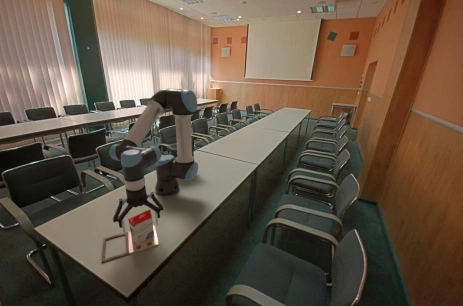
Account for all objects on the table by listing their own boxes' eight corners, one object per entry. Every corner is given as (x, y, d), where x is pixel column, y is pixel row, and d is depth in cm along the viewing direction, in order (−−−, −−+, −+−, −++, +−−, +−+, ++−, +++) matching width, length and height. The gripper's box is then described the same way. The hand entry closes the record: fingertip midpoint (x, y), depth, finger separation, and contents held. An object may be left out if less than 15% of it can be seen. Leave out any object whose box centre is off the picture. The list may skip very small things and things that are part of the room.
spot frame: (128, 232, 98) (127, 231, 98) (129, 254, 86) (129, 253, 86) (103, 239, 93) (103, 238, 93) (101, 262, 82) (101, 261, 82)
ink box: (148, 230, 99) (145, 204, 94) (154, 235, 96) (151, 209, 91) (131, 240, 93) (126, 213, 88) (136, 245, 90) (132, 218, 85)
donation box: (194, 171, 164) (193, 137, 155) (177, 177, 153) (175, 141, 143) (182, 165, 174) (181, 133, 165) (165, 170, 163) (163, 136, 153)
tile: (154, 225, 103) (154, 224, 103) (159, 244, 92) (158, 243, 91) (128, 232, 98) (127, 231, 98) (129, 254, 86) (129, 252, 86)
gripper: (164, 177, 94) (167, 215, 101) (101, 188, 83) (110, 230, 90) (168, 184, 88) (171, 225, 95) (99, 197, 77) (109, 242, 84)
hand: (141, 227), depth 93 cm, fingers open, 13 cm apart
